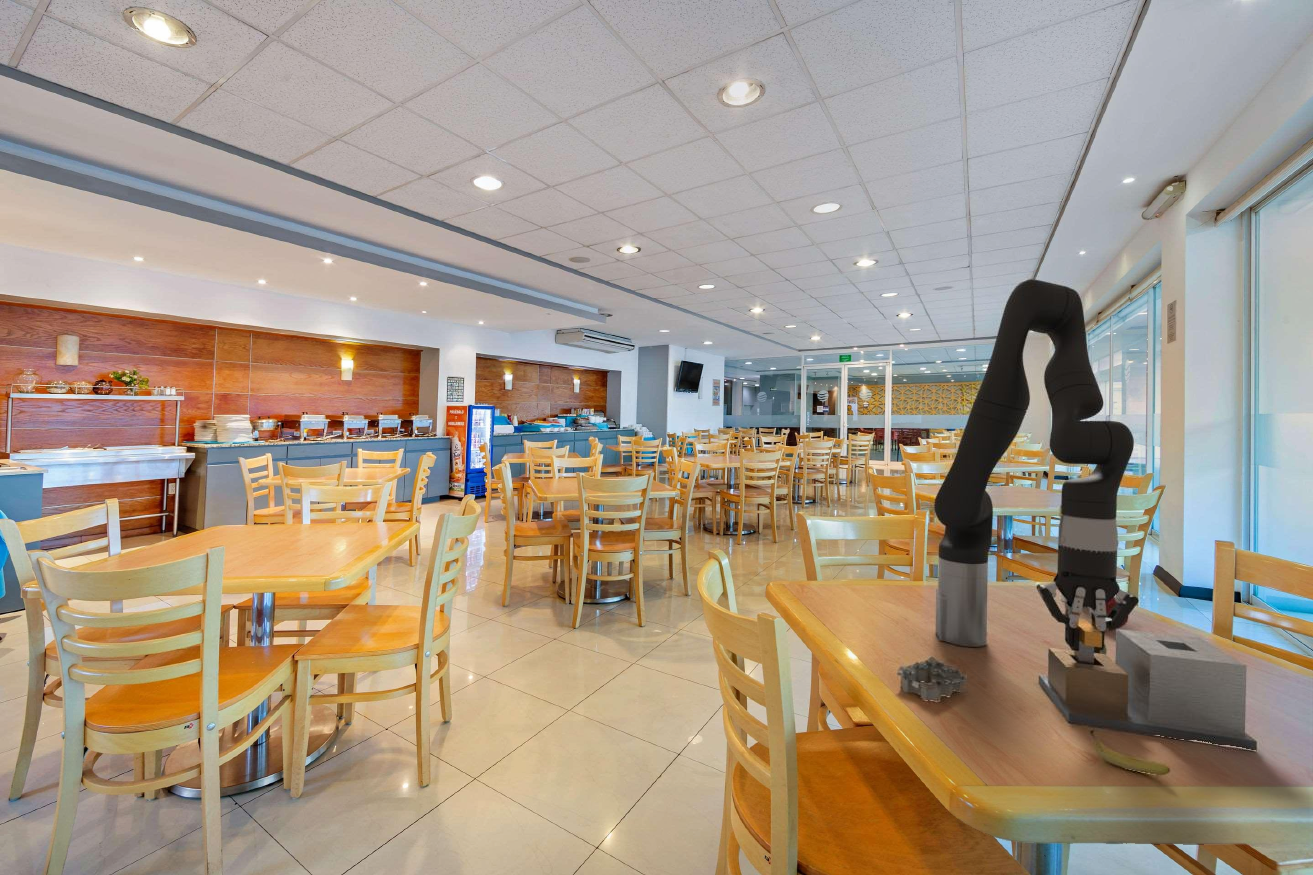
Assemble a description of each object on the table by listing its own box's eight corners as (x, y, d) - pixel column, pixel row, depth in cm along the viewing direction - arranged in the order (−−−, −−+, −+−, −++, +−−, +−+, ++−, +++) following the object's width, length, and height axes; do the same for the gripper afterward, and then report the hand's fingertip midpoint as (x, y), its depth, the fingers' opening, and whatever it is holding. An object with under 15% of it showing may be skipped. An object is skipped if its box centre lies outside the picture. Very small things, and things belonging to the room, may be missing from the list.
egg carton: (931, 707, 88) (931, 682, 88) (892, 687, 95) (892, 664, 95) (972, 692, 93) (972, 669, 93) (932, 674, 100) (932, 652, 100)
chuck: (1068, 722, 83) (1070, 648, 83) (1038, 682, 97) (1039, 618, 96) (1256, 751, 76) (1258, 670, 76) (1196, 704, 89) (1197, 634, 89)
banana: (1087, 760, 74) (1088, 731, 74) (1088, 754, 75) (1088, 726, 75) (1170, 786, 69) (1171, 755, 69) (1169, 779, 70) (1169, 748, 70)
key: (1100, 685, 85) (1102, 633, 85) (1083, 683, 86) (1084, 631, 85) (1083, 667, 91) (1084, 618, 91) (1067, 665, 92) (1068, 617, 92)
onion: (1135, 635, 120) (1136, 598, 119) (1108, 634, 120) (1109, 598, 120) (1113, 625, 125) (1114, 590, 125) (1088, 625, 126) (1088, 590, 125)
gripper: (1129, 543, 89) (1125, 647, 90) (1029, 536, 94) (1027, 635, 94) (1152, 553, 82) (1148, 666, 83) (1044, 545, 87) (1040, 652, 87)
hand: (1083, 649), depth 88 cm, fingers closed on key, 2 cm apart
